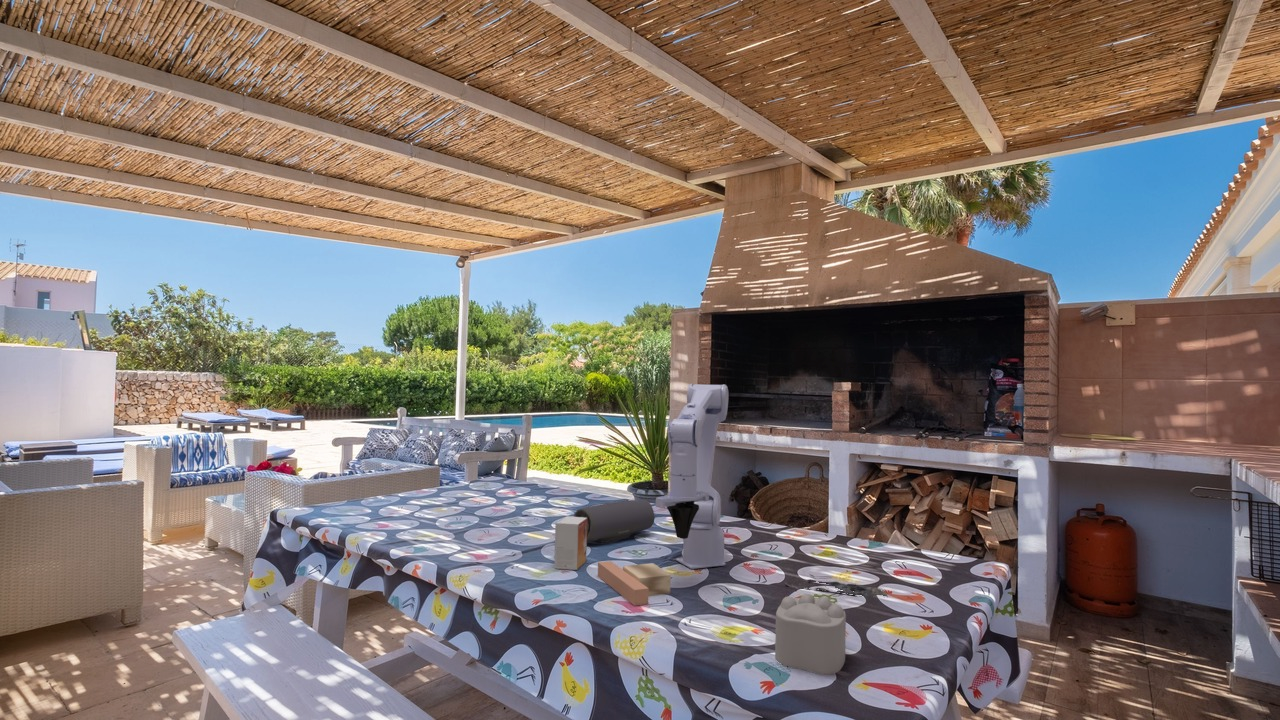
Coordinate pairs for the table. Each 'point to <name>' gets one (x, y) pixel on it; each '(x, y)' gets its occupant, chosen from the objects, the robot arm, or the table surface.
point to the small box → (570, 543)
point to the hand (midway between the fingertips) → (682, 537)
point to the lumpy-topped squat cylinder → (810, 634)
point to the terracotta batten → (623, 583)
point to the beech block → (650, 577)
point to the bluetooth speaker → (617, 519)
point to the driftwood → (849, 588)
